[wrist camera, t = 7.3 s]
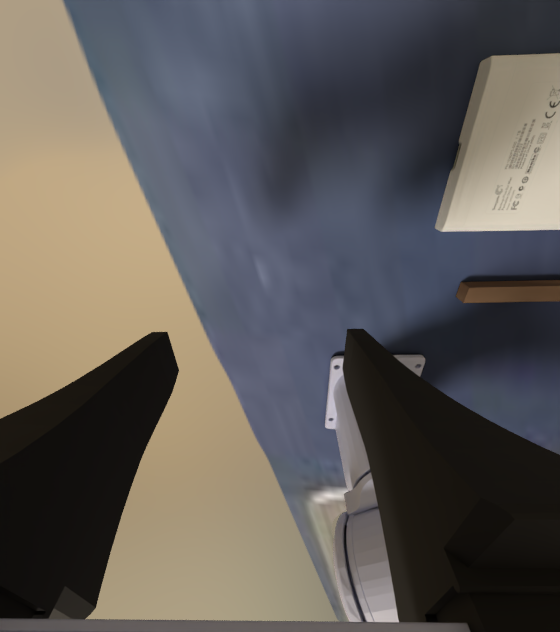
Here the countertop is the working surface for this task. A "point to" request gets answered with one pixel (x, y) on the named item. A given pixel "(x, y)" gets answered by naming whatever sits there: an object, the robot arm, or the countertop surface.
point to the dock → (509, 291)
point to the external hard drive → (508, 149)
